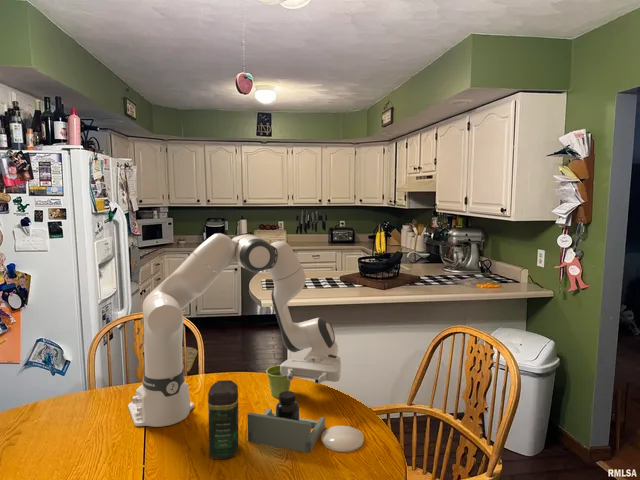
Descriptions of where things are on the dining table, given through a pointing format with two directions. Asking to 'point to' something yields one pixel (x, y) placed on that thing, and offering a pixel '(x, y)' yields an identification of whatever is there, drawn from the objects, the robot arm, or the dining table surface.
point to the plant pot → (277, 381)
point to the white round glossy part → (342, 438)
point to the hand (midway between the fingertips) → (303, 379)
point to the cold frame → (284, 431)
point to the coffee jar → (223, 419)
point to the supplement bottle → (287, 406)
